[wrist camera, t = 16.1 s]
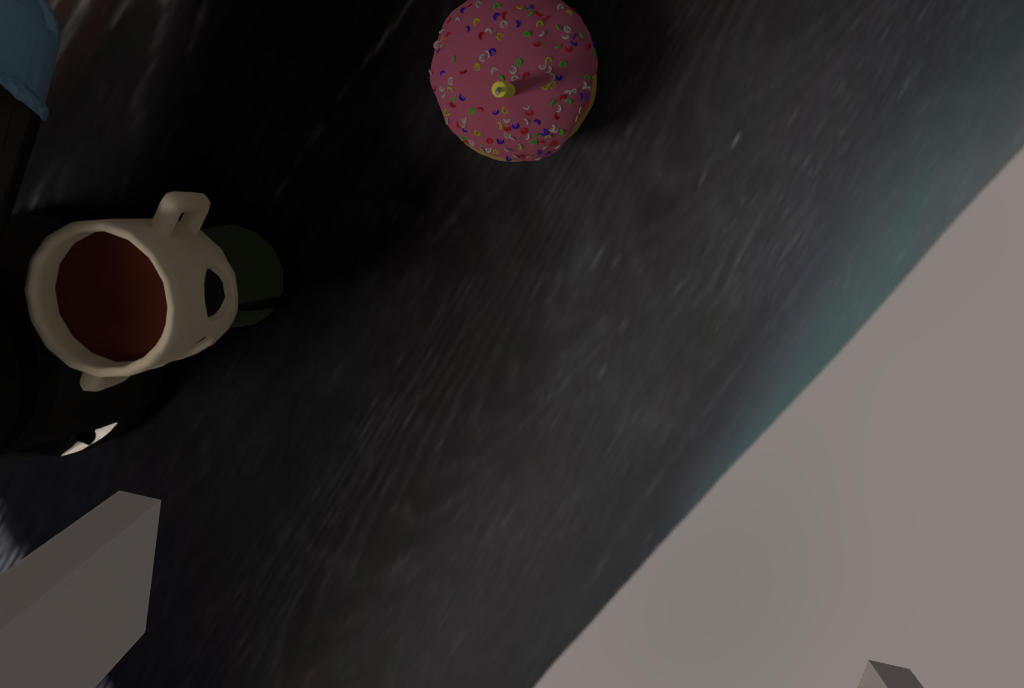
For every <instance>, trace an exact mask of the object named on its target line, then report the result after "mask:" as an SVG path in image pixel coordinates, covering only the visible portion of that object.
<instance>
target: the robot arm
mask: <svg viewBox="0 0 1024 688" xmlns="http://www.w3.org/2000/svg"><path fill="white" fill-rule="evenodd" d="M59 46H60V29H59V25H58V22H57V19H56V17H55V15H54V13H53V11H52V10H51V8H50V6H49V5H48V4H47V3H46V1H45V0H0V460H6V459H27V458H47V457H61V456H66V455H72V454H75V453H79V452H82V451H85V450H88V449H91V448H93V447H95V446H97V445H99V444H101V443H103V442H106V441H108V440H110V439H112V438H114V437H116V436H118V435H120V434H121V433H123V432H124V431H126V430H127V429H129V428H130V427H131V426H132V425H134V424H135V423H136V422H137V421H138V420H139V419H140V418H141V417H142V416H143V415H144V413H145V412H146V411H147V410H148V408H149V407H150V405H151V404H152V402H153V400H154V399H155V397H156V395H157V393H158V391H159V388H160V385H161V383H162V379H163V376H164V372H165V367H166V365H164V366H162V367H158V368H155V369H150V370H146V371H144V372H141V373H138V374H135V375H130V377H129V378H128V379H126V380H125V381H123V382H122V383H119V384H116V385H113V386H111V387H108V388H105V389H103V390H100V391H84V390H83V389H82V387H81V385H80V379H81V376H82V374H83V372H82V371H79V370H76V369H73V368H70V367H69V366H68V365H67V364H65V363H64V362H63V361H62V360H61V359H60V358H58V357H57V356H56V355H55V354H54V353H52V352H51V351H50V350H49V349H48V348H47V347H46V346H45V344H44V343H43V341H42V339H41V337H40V336H39V334H38V332H37V331H36V329H35V327H34V325H33V324H32V322H31V320H30V316H29V311H28V306H27V301H26V296H25V291H24V288H25V282H26V277H27V272H28V266H29V261H30V259H31V257H32V256H33V254H34V253H35V252H36V250H37V249H38V247H39V246H40V245H41V243H42V242H43V240H44V239H45V238H46V236H48V235H50V234H51V233H53V232H55V231H57V230H59V229H61V228H62V227H64V226H66V225H68V224H70V223H72V222H77V221H74V220H71V219H67V218H63V217H58V216H50V215H11V214H12V211H13V208H14V204H15V201H16V198H17V195H18V192H19V189H20V186H21V183H22V179H23V176H24V173H25V170H26V167H27V164H28V161H29V158H30V155H31V151H32V148H33V145H34V142H35V139H36V136H37V133H38V130H39V127H40V123H41V120H44V121H46V120H47V117H48V115H49V112H48V108H47V106H46V104H45V102H46V98H47V94H48V90H49V86H50V82H51V78H52V74H53V70H54V66H55V62H56V58H57V54H58V50H59ZM160 504H161V500H158V499H154V498H150V497H145V496H141V495H136V494H132V493H127V492H123V491H118V492H117V493H115V494H114V495H113V496H111V497H110V498H108V499H107V500H106V501H104V502H103V503H101V504H100V505H98V506H97V507H96V508H94V509H93V510H91V511H90V512H89V513H87V514H86V515H84V516H83V517H81V518H80V519H79V520H77V521H76V522H74V523H73V524H72V525H70V526H69V527H67V528H66V529H65V530H63V531H62V532H60V533H59V534H57V535H56V536H55V537H53V538H52V539H50V540H49V541H48V542H46V543H45V544H43V545H42V546H40V547H39V548H38V549H36V550H35V551H33V552H32V553H31V554H29V555H28V556H26V557H25V558H23V559H22V560H21V561H19V562H18V563H16V564H15V565H14V566H12V567H11V568H9V569H8V570H6V571H5V572H4V573H2V574H1V575H0V688H95V687H96V686H97V685H98V683H99V682H100V681H101V680H102V679H103V678H104V677H105V676H106V675H107V673H108V672H109V671H110V670H111V669H112V668H113V667H114V666H115V665H116V663H117V662H118V661H119V660H120V659H121V658H122V657H123V656H124V655H125V654H126V652H127V651H128V650H129V649H130V648H131V647H132V646H133V645H134V644H135V642H136V641H137V640H138V639H139V638H140V637H141V636H142V635H143V634H144V632H145V628H146V620H147V611H148V603H149V595H150V587H151V578H152V570H153V562H154V554H155V545H156V537H157V529H158V521H159V512H160ZM858 688H924V687H923V686H922V685H921V684H920V682H919V681H918V680H917V678H916V677H915V676H914V674H913V673H912V672H911V671H910V669H906V668H902V667H898V666H893V665H889V664H884V663H880V662H875V661H871V660H868V663H867V665H866V668H865V671H864V673H863V675H862V678H861V681H860V683H859V686H858Z"/></svg>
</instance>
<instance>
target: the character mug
mask: <svg viewBox="0 0 1024 688" xmlns="http://www.w3.org/2000/svg"><path fill="white" fill-rule="evenodd" d="M210 204H211V202H210V201H209V199H208V198H207V196H206V195H204V194H202V193H195V192H179V191H172V192H169V193H166V194H165V196H164V197H163V199H162V200H161V202H160V204H159V206H158V209H157V211H156V213H155V215H154V217H153V219H103V220H88V221H77V222H72V223H70V224H68V225H66V226H64V227H62V228H61V229H59V230H57V231H55V232H53V233H51V234H50V235H48V236H46V238H45V239H44V240H43V242H42V243H41V245H40V246H39V247H38V249H37V250H36V252H35V253H34V254H33V256H32V257H31V259H30V261H29V266H28V272H27V277H26V282H25V288H24V291H25V296H26V301H27V306H28V311H29V316H30V320H31V322H32V324H33V325H34V327H35V329H36V331H37V332H38V334H39V336H40V337H41V339H42V341H43V343H44V344H45V346H46V347H47V348H48V349H49V350H50V351H51V352H52V353H54V354H55V355H56V356H57V357H58V358H60V359H61V360H62V361H63V362H64V363H65V364H67V365H68V366H69V367H70V368H73V369H76V370H79V371H82V372H83V374H82V376H81V379H80V385H81V387H82V389H83V390H84V391H100V390H103V389H105V388H108V387H111V386H113V385H116V384H119V383H122V382H123V381H125V380H126V379H128V378H129V377H130V375H135V374H138V373H141V372H144V371H146V370H150V369H155V368H158V367H162V366H164V365H166V364H167V363H169V362H171V361H175V360H181V359H184V358H186V357H189V356H192V355H195V354H197V353H199V352H200V351H202V350H204V349H206V348H207V347H209V346H211V345H213V344H214V343H215V342H216V341H217V340H218V339H219V338H220V337H221V336H222V335H223V334H224V333H225V332H226V331H227V330H228V329H229V328H234V327H241V326H247V325H254V324H256V323H258V322H259V321H261V320H262V319H264V318H265V317H267V316H268V315H270V314H271V313H272V312H273V310H274V308H272V309H264V310H259V309H260V308H261V307H262V306H263V305H264V304H265V303H266V302H267V300H268V298H273V297H278V296H281V294H282V292H283V268H282V266H281V263H280V261H279V259H278V257H277V254H276V252H275V250H274V248H273V247H272V246H271V245H270V244H269V243H267V242H266V241H265V240H264V239H263V238H261V237H260V236H259V235H258V234H257V233H255V232H254V231H251V230H248V229H245V228H242V227H239V226H236V225H233V224H231V225H224V226H218V227H212V228H207V229H203V230H200V228H201V226H202V224H203V222H204V220H205V217H206V215H207V213H208V211H209V207H210ZM183 212H184V214H183V216H182V218H181V220H180V221H178V219H179V217H180V215H181V213H183Z"/></svg>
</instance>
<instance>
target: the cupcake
mask: <svg viewBox="0 0 1024 688" xmlns="http://www.w3.org/2000/svg"><path fill="white" fill-rule="evenodd" d="M436 43H437V44H436ZM435 45H436V46H435ZM595 46H596V44H595V42H593V41H592V39H591V36H590V34H589V31H588V29H587V27H586V26H585V24H584V22H583V20H582V19H581V17H580V16H579V15H578V14H577V13H576V12H575V9H573V8H571V7H569V6H568V5H567V4H565V3H564V2H563V1H562V0H467V1H466V2H465V3H463V4H462V5H460V6H459V7H458V8H456V9H455V10H454V11H453V12H452V13H451V14H450V15H449V16H448V17H447V19H446V20H445V22H444V24H443V27H442V30H441V31H440V32H439V37H438V40H437V41H436V42H435V43H434V48H435V52H434V56H433V60H432V65H431V70H429V72H430V82H431V86H432V88H433V91H434V93H435V95H436V97H437V100H438V103H439V105H440V108H441V110H442V114H443V116H444V119H445V123H446V124H447V125H448V126H449V128H450V129H451V130H452V131H453V132H454V133H455V134H456V135H457V136H458V137H459V138H460V139H461V140H462V141H463V142H464V143H465V144H466V145H467V146H469V147H470V148H471V149H473V150H475V151H476V152H478V153H480V154H482V155H485V156H487V157H490V158H493V159H496V160H499V161H508V162H517V161H535V160H540V159H543V158H545V157H547V156H549V155H551V154H553V153H555V152H556V151H558V150H559V149H560V148H561V147H562V146H563V145H564V143H565V141H566V140H567V139H569V138H570V137H571V136H572V135H573V134H574V133H575V132H576V131H577V130H578V128H579V127H580V125H581V124H582V122H583V120H584V119H585V117H586V116H587V114H588V112H589V111H590V109H591V107H592V105H593V102H594V99H595V95H596V86H597V73H596V72H597V70H598V61H597V55H596V50H595Z"/></svg>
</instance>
